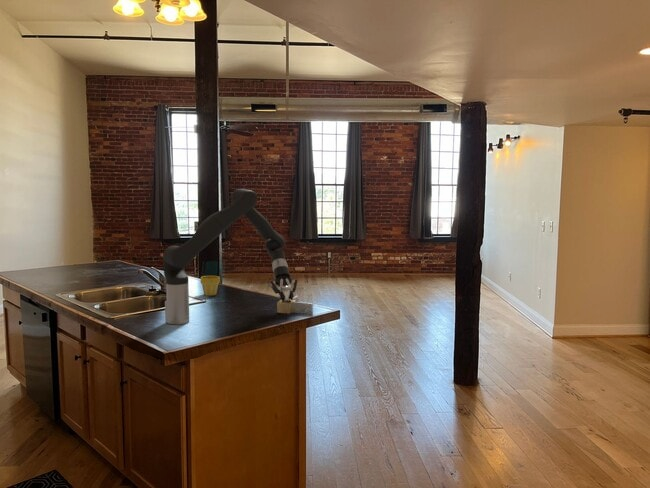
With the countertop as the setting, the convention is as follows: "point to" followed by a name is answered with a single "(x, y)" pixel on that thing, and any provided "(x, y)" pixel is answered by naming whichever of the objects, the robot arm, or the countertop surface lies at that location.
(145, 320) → the countertop surface
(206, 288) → the plant pot
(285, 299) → the pin
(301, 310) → the shallow cream box
